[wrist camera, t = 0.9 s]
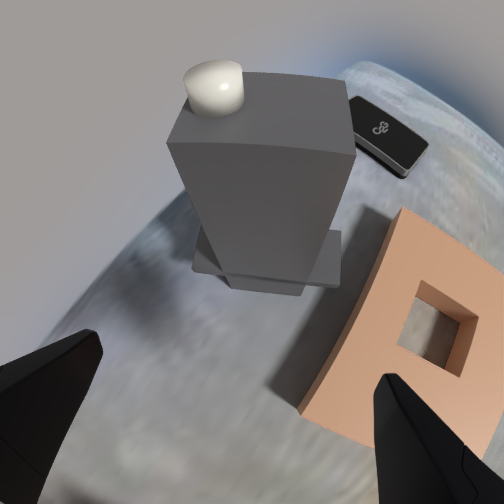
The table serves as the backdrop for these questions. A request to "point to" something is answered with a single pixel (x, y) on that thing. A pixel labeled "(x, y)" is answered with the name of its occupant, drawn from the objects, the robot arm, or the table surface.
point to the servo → (265, 174)
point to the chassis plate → (405, 362)
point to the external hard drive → (385, 137)
